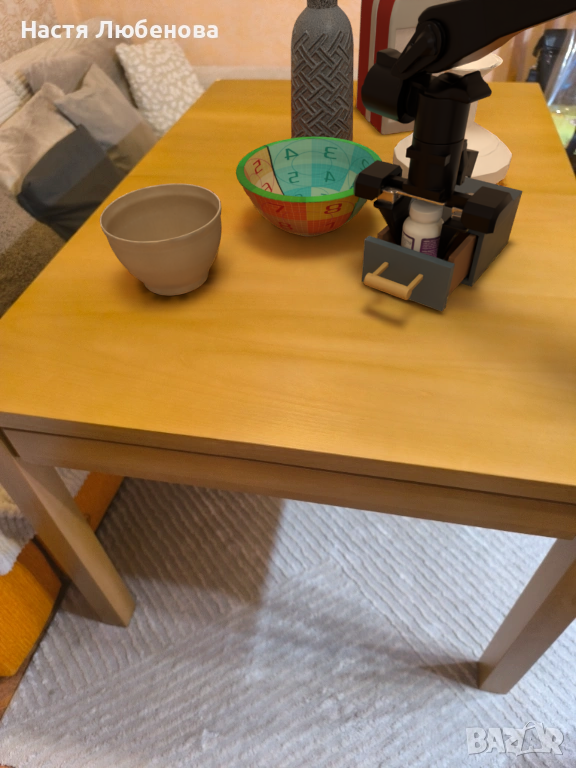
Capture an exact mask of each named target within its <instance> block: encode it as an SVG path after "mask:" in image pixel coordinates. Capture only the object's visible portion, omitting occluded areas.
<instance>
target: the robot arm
mask: <svg viewBox="0 0 576 768" xmlns="http://www.w3.org/2000/svg"><path fill="white" fill-rule="evenodd" d="M574 13H576V0H453V1H449V2H445V3H441V4H437V5H433V6H430V7H428V8H426V9H425V10H424V11H423V12H422V13H421V14H420V15H419V17H418V24H417V26H416V30H415V33H414V34H413V36H412V38H411V39H410V41H409V42H408V44H407V45H406V47H405V48H404V50H403V51H402V53H400V52H399V51H398V50H396V49H392V48H387V49H384V50H380V51H378V52H377V53H376V63H375V64H374V65H373V66H372V67H371V68H370V70H369V71H368V73H367V75H366V77H365V80H364V83H363V85H362V87H361V99H362V103H363V105H364V107H365V108H366V109H367V110H368V111H371V112H374V113H376V114H379V115H381V116H384V117H387V118H389V119H392V120H394V121H397V122H400V123H402V124H408V123H411V122H412V121H414V120H415V121H414V130H412V133H413V138H412V145H411V146H409V147H408V148H407V149H406V158H410V163H409V172H408V179H406V178H403V177H402V168H401V167H400V165H396V164H393V162H392V163H391V162H387V161H383V160H382V161H379V160H376V161H375V162H373V163H372V164H371V165H369V166H368V167H367V168H365V169H364V170H362V171H361V172H360V173H358V174H357V175H356V177H355V180H354V189H353V194H354V196H356V197H359V198H363V199H366V200H367V201H370V202H373V208H375V209H377V210H379V213H380V214H381V216H382V217H383V220H384V221H385V223H386V226H387V225H388V227H389V229H390V231H391V234H392V236H393V238H394V241H395V243H396V245H399V246H401V239H402V230H403V224H404V221H405V220H406V218H407V217H408V209H409V205H410V202H411V199H412V198H416V199H419V200H423V201H427V202H430V203H434V204H438V205H441V206H445V207H449V208H452V212H451V213H452V215H451V216H450V217H449V218H448V219H447V220H446V221H445V222H444V223H443V224H442V228H441V234H440V240H439V245H438V251H437V258H439V259H442V260H443V259H444V257H445V255H446V254H447V252H448V250H449V249H450V247H451V245H452V244H453V242H454V240H455V239H456V237H457V236H458V234H459V233H466V232H467V231H468V230H469V229H471V230H474V231H478V232H481V233H485V234H491V233H494V232H495V231H496V230H497V228H498V227H499V226H500V225H501V224H502V223H503V222H504V221H505V219H506V218H507V217H508V216H509V215H510V212H511V208H512V205H513V199H512V196H511V194H510V193H509V192H505V191H501V190H497V189H493V188H489V187H485V186H482V187H481V188H479V189H478V190H477V191H476V192H475V193H461V192H457V191H455V186H456V185H459V186H461V185H462V184H463V183H464V181H465V176H467V177H468V178H471V175H472V172H473V169H474V166H475V163H476V160H477V156H478V153H479V151H475V150H471V149H467V140H468V139H464V138H465V132H466V127H467V121H468V116H469V111H470V105H471V103H473V102H476V101H478V102H479V101H481V100H483V99H487V98H489V97H491V96H492V93H493V91H492V89H491V87H490V85H489V84H488V83H487V82H486V80H485V79H484V77H483V78H482V76H481V72H480V71H479V70H477V71H474V72H471V73H468V74H465V75H464V76H462V75H458V74H455V73H451V72H445V73H442V74H440V75H439V76H434V75H432V74H435V73H440V72H443V71H447V70H450V69H453V68H456V67H459V66H462V65H465V64H468V63H471V62H474V61H477V60H479V59H481V58H483V57H485V56H486V55H488V54H490V53H493V52H495V51H497V50H498V49H500V48H502V47H503V46H505V45H506V44H507V43H508V42H509V41H511V40H512V39H513V38H515V37H516V36H518V35H520V34H521V33H523V32H525V31H528V30H530V29H533V28H535V27H539V26H541V25H544V24H546V23H549V22H552V21H555V20H558V19H560V18H563V17H566V16H568V15H571V14H574Z"/></svg>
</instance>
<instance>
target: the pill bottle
mask: <svg viewBox="0 0 576 768" xmlns="http://www.w3.org/2000/svg"><path fill="white" fill-rule="evenodd" d="M442 213H443V206H441V205H438V204H434V203H430V202H427V201H423V200H419V199H417V200H415V201H413V202H412V203H411V207H410V212H409V214H410V216H409V217H407V218H406V220H405V221H404V224H403V230H402V239H401V246H402V247H405V248H409V249H412V250H415V251H418V252H421V253H424V254H427V255H430V256H433V257H436V258H437V251H438V245H439V240H440V234H441V228H442V224H443V223H444V221H443V219H442V218H441V217H442Z"/></svg>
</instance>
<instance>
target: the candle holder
mask: <svg viewBox="0 0 576 768" xmlns="http://www.w3.org/2000/svg"><path fill="white" fill-rule="evenodd" d="M503 61H504V59H503V58H502V57H501V56H499V55H497V54H495V53H493V52H491V53H490V54H488V55H486V56H485V57H483V58H481V59H479V60H477V61H474V62H471V63H468V64H465V65H462V66H459V67H456V68H453V69H450V70H447V71H443V72H444V73H445V72H451V73H455V74H458V75H462V76H464V75H465V74H468V73H471V72H474V71H477V70H479V71H480V72H481V76H482V78H483V79H484V77H485V76H487V75H488V74H489V73H491V72H492V71H494V70H495V69H496V68H498V67H499V66H501V65H502V63H503ZM478 104H479V100H478V101H476V102H473V103H471V105H470V111H469V116H468V121H467V127H466V132H465V138H464V139H468V140H467V149H471V150H475V151H479V153H478V156H477V160H476V163H475V166H474V169H473V172H472V175H471V178H473V179H477V180H481V181H485V182H489V183H493V184H498V183H499V182H500V181H502V180H504V179H505V178H506V177H507V174H508V171H509V169H510V165H511V162H512V158H513V153H512V152H511V150H510V149H509V147H508V146H507V144H506V143H504V142H503V141H502V139H500V137H498V136H497V135H496V134H494V133H493V132H491V131H490V130H488V129H487V128H485V127H484V126H482V125H480V124H479V123H477V122H476V121H475V119H476V116H477V115H476V114H477V110H478ZM412 138H413V132H412V133H410V134H409V135H407V136H405V137H404V138H402V139H400V140H399V141H398V143H397V144H396V146H394V148H393V153H392V154H393V155H392V164H396V165H400V167H401V168H402V177H403V178H406V179H408V172H409V163H410V158H406V149H407V148H408V147H409V146H411V145H412ZM465 177H467V176H465Z"/></svg>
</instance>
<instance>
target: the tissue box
mask: <svg viewBox="0 0 576 768" xmlns="http://www.w3.org/2000/svg"><path fill="white" fill-rule="evenodd" d="M449 1H453V0H361V1H360V12H359V36H358V56H357V79H356V80H357V81H356V101H355V103H356V104H355V108H356V109H357V111H358V112H359V113H360V114H361V115H362V116H363V117H364V118H365V120H366V121H367V122H369V123H370V124H371V125H372V126H373V127H374V129H376V131H378V132H379V134H381V135H391V134H392V135H393V134H398V133H405V132H411V131H412V132H413V130H414V121H415V120H414V121H412V122H411V123H408V124H402V123H400V122H397V121H394V120H392V119H389V118H387V117H384V116H381V115H379V114H376V113H374V112H371V111H368V110H367V109H366V108H365V107H364V105H363V103H362V99H361V87H362V85H363V83H364V80H365V77H366V75H367V73H368V71H369V70H370V68H371V67H372V66H373V65H374V64H375V63H376V53H377V52H378V51H380V50H384V49H387V48H392V49H396V50H398V51H399V52H400V53H402V51H403V50H404V48H405V47H406V45H407V44H408V42H409V41H410V39H411V38H412V36H413V34H414V33H415V30H416V26H417V24H418V17H419V15H420V14H421V13H422V12H423V11H424V10H425V9H426V8H428V7H430V6H433V5H437V4H441V3H445V2H449ZM442 73H444V72H440V73H435V74H432V75H434V76H439V75H440V74H442Z"/></svg>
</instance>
